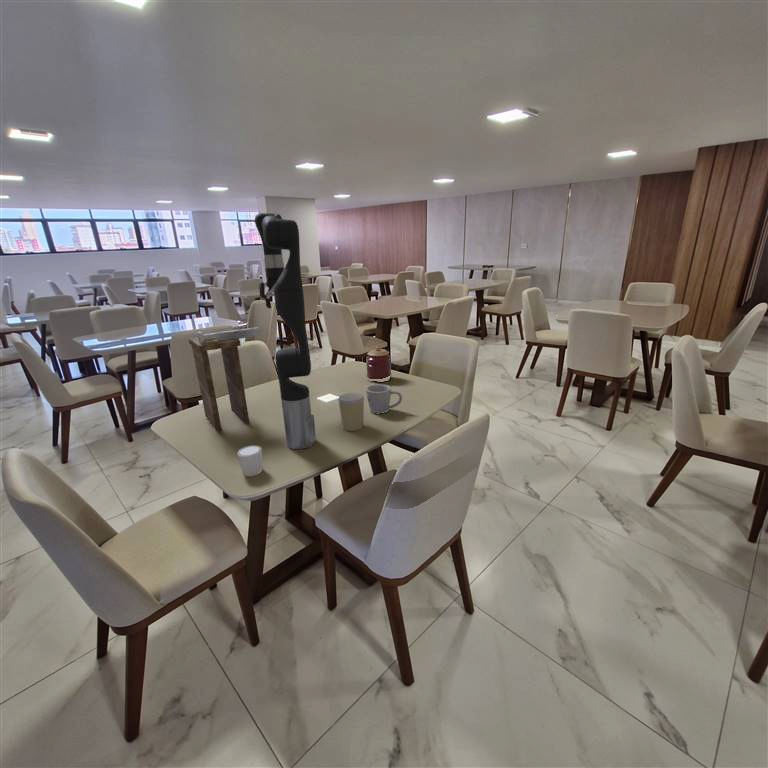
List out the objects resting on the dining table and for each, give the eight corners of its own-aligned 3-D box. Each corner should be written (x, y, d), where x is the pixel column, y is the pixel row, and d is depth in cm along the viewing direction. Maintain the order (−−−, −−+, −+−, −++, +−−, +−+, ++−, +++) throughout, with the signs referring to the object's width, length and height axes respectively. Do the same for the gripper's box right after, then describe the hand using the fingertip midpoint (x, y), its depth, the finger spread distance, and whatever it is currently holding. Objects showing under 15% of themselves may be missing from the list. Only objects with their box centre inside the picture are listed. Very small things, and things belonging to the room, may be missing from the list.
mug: (370, 405, 162) (369, 383, 159) (404, 407, 159) (404, 384, 156) (364, 415, 152) (362, 391, 149) (400, 417, 149) (400, 393, 146)
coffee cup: (351, 419, 148) (349, 391, 144) (370, 424, 143) (368, 395, 139) (335, 428, 141) (332, 398, 137) (354, 434, 136) (352, 403, 132)
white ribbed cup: (248, 480, 109) (244, 458, 107) (236, 472, 113) (232, 451, 111) (269, 470, 114) (266, 449, 112) (257, 463, 118) (253, 443, 116)
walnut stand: (238, 408, 165) (225, 331, 154) (252, 422, 149) (239, 337, 139) (203, 416, 157) (187, 335, 146) (215, 432, 141) (198, 343, 131)
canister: (396, 378, 198) (395, 345, 193) (379, 384, 190) (378, 350, 184) (379, 374, 207) (377, 342, 202) (361, 379, 198) (359, 347, 193)
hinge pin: (258, 334, 150) (257, 324, 148) (261, 335, 146) (260, 325, 145) (198, 342, 137) (196, 331, 136) (201, 344, 134) (199, 333, 133)
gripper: (287, 266, 160) (291, 305, 165) (254, 267, 152) (259, 308, 157) (294, 266, 154) (298, 306, 159) (260, 267, 146) (265, 309, 151)
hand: (279, 307), depth 158 cm, fingers open, 8 cm apart
